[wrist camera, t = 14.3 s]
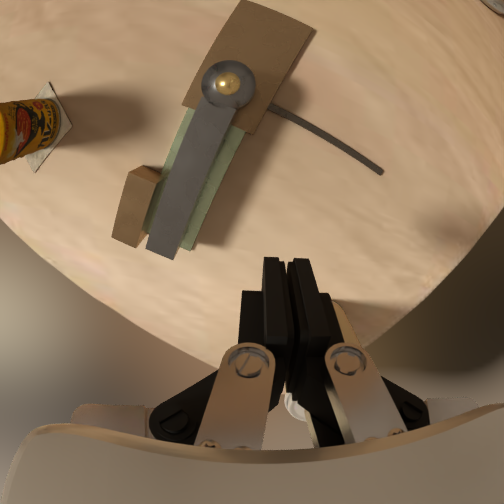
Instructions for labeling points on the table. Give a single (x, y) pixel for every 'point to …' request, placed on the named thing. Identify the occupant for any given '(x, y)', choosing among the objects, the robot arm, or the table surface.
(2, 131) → the condiment
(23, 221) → the table surface
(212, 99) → the swing bar
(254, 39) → the plate
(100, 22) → the table surface
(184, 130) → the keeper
